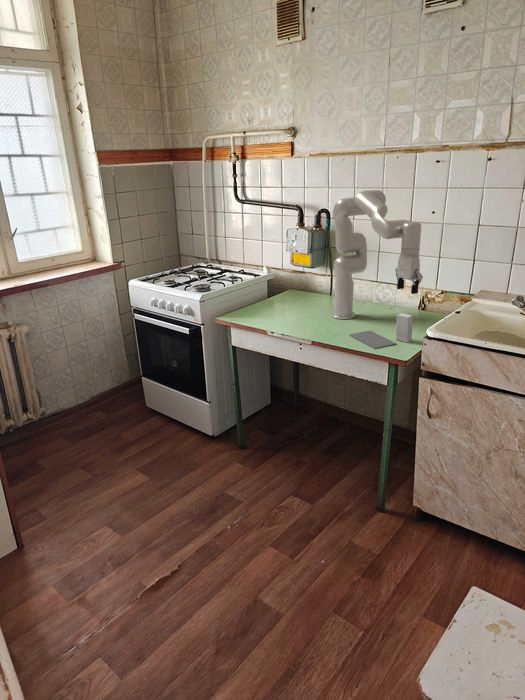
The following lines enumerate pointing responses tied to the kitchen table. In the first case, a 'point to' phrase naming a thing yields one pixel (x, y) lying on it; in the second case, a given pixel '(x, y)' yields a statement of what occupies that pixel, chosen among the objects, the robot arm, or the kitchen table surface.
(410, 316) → the skincare box
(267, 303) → the kitchen table surface
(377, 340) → the mat
